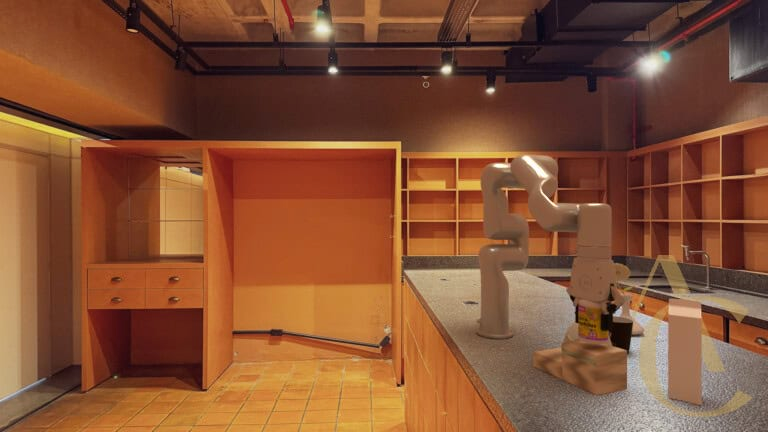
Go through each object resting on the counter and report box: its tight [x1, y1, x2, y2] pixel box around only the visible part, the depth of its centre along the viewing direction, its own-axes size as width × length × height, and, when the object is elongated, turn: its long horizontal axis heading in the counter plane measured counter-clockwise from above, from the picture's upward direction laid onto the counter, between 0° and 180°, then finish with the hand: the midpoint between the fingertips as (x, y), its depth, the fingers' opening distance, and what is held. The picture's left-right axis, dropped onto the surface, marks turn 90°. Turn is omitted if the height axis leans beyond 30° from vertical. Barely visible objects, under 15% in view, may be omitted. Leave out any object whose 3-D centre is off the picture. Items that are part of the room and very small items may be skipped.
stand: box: [532, 341, 628, 396], centre depth 104 cm, size 20×10×9 cm, turn 22°
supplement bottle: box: [578, 299, 609, 345], centre depth 100 cm, size 7×7×13 cm
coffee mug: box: [608, 315, 633, 356], centre depth 126 cm, size 12×9×10 cm
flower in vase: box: [614, 262, 645, 336], centre depth 147 cm, size 13×11×25 cm
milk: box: [667, 298, 703, 406], centre depth 92 cm, size 6×6×22 cm
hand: (593, 325), depth 100 cm, fingers closed on supplement bottle, 6 cm apart
